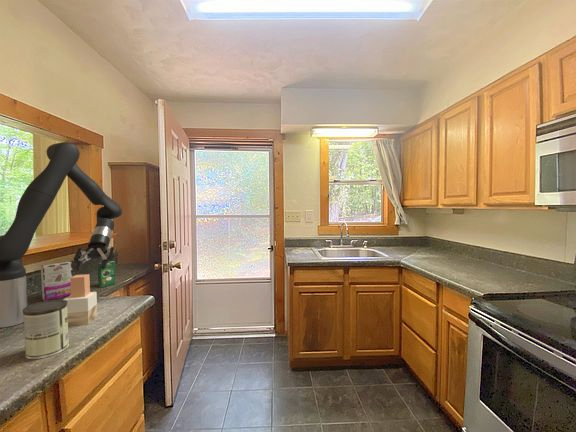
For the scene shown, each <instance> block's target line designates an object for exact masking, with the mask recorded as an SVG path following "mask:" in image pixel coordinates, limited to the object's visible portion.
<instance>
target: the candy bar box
mask: <svg viewBox="0 0 576 432" xmlns="http://www.w3.org/2000/svg"><path fill="white" fill-rule="evenodd" d="M40 275H41V277H40V278H41V291H42V292H41V294H42V295H41V296H42V300H43V302H44V301H49V300H59V299H62V298H67V297H68V296H70V295H71V282H70V278H71V277H73V276H74V275H73V263H72V262H71V261H64V262H58V263H57V262H56V263H51V264H49V263H48V264H45V265H43V264H42V265H40Z"/></svg>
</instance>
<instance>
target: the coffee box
mask: <svg viewBox="0 0 576 432" xmlns="http://www.w3.org/2000/svg"><path fill="white" fill-rule="evenodd" d="M101 264H102V262H99V263H98V264H97V266H98V267H97V277H98V278H97V280H98V282H97V283H98V284H97V286H98V288H105V287H109V286H113V285H116V261H115V260H113V261H109V262H108V263H107V266H106V268H105V269H104V270H102V269H101Z"/></svg>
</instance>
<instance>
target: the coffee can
mask: <svg viewBox="0 0 576 432" xmlns="http://www.w3.org/2000/svg"><path fill="white" fill-rule="evenodd" d="M23 317H24V322H23V330H24V333H23V334H24V349H25V351H24V352H25V359H27V360H40V359H44V358H45V359H46V358H49V357H52V356H56V355H57V354H60V353H62V352H63V351H65V350H67V349H68V348H69V346H70V344H69V326H68V317H67V301H66V300H64V299H53V300H49V301H44V300H43V301H40V302H37V303H32V304H30V305H27V307H25V308H24V309H23Z"/></svg>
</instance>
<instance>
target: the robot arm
mask: <svg viewBox="0 0 576 432" xmlns="http://www.w3.org/2000/svg"><path fill="white" fill-rule="evenodd" d="M45 153H46V157H47V158H48V159H49V162H48V164H47V165H46V167H45V168H44V169H43V171H41V172H40V173H39V174H38V175H37V176H36V177H35V178H34V179H33V180H32V181H31V182H30V183H29V184H28V186H27V187H26V188H25V190H24V191H23V193H22V195H21V197H20V199H19V201H18V203H17V208H16V211H15V212H16V213H15V216H14V220H13V222H12V224H11V225H10V227H9V228H8V229H7V231H6V232H5V234H2V235H0V328H7V327H8V328H9V327H12V326H17V325H19V324H24V317H23V309H24V308H25V307H27V306H28V291H27V290H28V287H27V269H26V268H25V266H24V264H23V260H22V259H23V256H25V254H27V252H28V250H29V248H30V245H31V243H32V241H33V238H34V236H35V233H36V231H37V229H38V227H39V225H40V224H41V223H42V221H43V220H44V217H45V215H46V214H47V212H48V211H49V209H50V208H51V206H52V204H53V202H54V200H55V199H56V196H57V195H58V193H59V191H60V189H61V187H62V186H63V184H64V181H65V179H66V177H68V178H69V179H70V180H71V181H72V182H73V183H74V184H75V185H76V186H77V187H78V189H79V190H80V191H81V192H82V193H83V194H84V196H85V197H86V198H87V199H88V201H90V203H91V204H92V205H94V206H100V207H99V208H98V209H97V211H96V213H95V214H96V224H95V227H94V229H93V231H92V234H91V235H90V239H89V242H88V244H87V247H86V248H85V249H84V248H83V249H82V248H81V247H79V248H77V251H76V253H75V255H74V257H73V260H74V262H75V263H76V266H75V269H76V270H77V272H81V271H82V269H83V266H84V263H86V262H87V261H89V260H93V259H100V258H102V261H101V263H102V264H101V269H102V270H104V269H105V268H106V266H107V263H108V262H110V261H115V255H116V249H115V246H110V243H111V240H112V237H113V236H112V234H113V231H114V228H115V222H114V221H113V219H114V220H115V219H117V218H119V217H121V216H122V214H123V209H122V207H121V205H119V204H118V203H117V202H116V201H115V200H114V199H112V198H111V197H109V196H108V195H107V194H106V192H104V190H103V189H102V188H101V186H100V185H99V184H98V183H97V182H96V180H94V179H93V178H92V177H90V176H89V175H88V174H87V173H85V172H84V171H83V170H82V168H80V166H78V164H77V163H78V161H79V159H80V150H79V148H78V146H77V145H76V144H74V143H72V142H66V141H62V142H58V143H54V144H53V143H52V144H50V145H49V146H48V147H47V148H46V151H45ZM109 246H110V248H109ZM108 252H109V254H108V256H106V254H107V253H108Z"/></svg>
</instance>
